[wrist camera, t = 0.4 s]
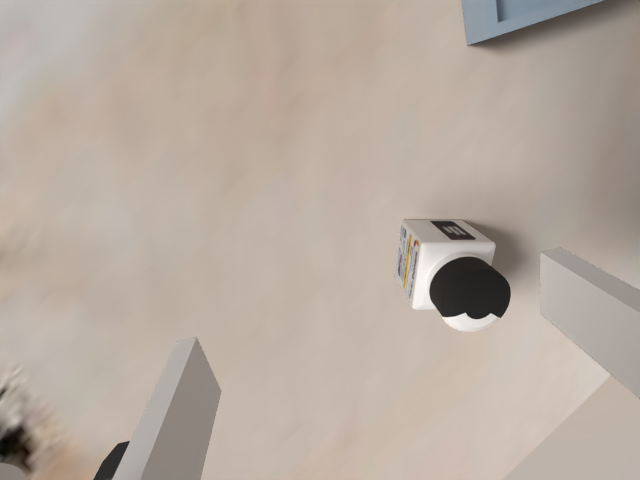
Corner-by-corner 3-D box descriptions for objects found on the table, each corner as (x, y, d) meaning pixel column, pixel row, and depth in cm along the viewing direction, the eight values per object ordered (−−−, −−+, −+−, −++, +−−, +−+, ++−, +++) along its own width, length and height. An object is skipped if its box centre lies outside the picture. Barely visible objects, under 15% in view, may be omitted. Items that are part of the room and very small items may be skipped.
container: (399, 218, 41) (444, 267, 29) (462, 218, 42) (532, 266, 30) (393, 277, 44) (431, 343, 32) (452, 276, 45) (511, 341, 33)
